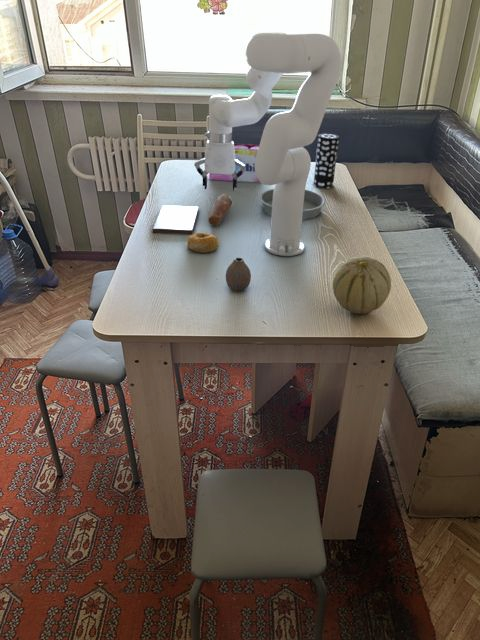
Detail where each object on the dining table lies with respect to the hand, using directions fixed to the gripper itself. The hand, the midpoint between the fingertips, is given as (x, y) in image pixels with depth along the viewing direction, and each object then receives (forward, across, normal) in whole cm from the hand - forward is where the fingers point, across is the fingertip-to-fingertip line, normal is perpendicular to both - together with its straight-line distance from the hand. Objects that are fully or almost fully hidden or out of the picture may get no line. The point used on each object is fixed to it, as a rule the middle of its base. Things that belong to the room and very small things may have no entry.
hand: (219, 188), depth 183 cm
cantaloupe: (+9, +40, -62) cm, 74 cm away
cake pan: (+10, +26, +10) cm, 30 cm away
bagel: (+10, -4, -26) cm, 29 cm away
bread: (+10, 0, 0) cm, 11 cm away
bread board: (+10, -14, -6) cm, 19 cm away
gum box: (+11, +4, +46) cm, 47 cm away
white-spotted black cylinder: (+11, +42, +42) cm, 60 cm away
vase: (+10, +8, -52) cm, 54 cm away
